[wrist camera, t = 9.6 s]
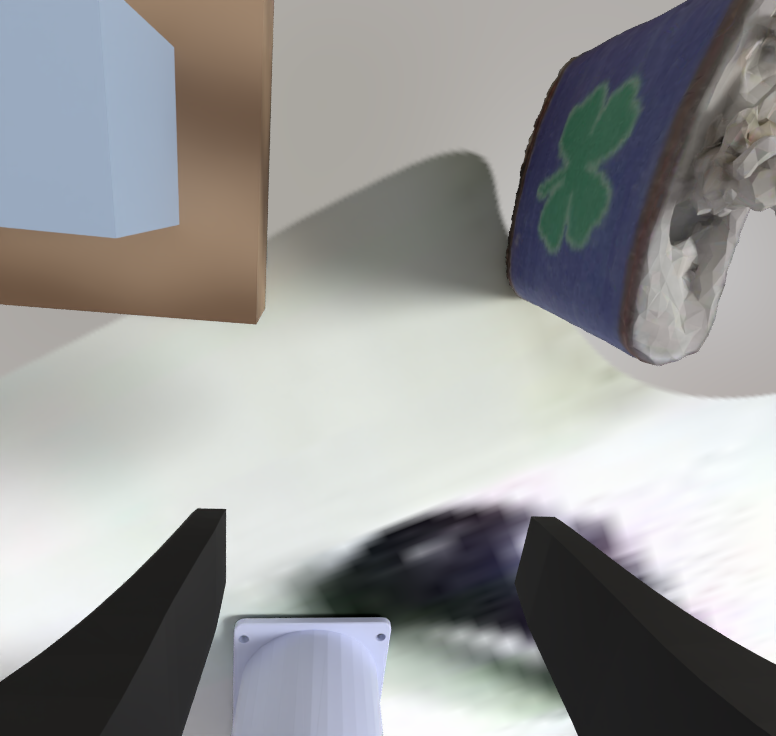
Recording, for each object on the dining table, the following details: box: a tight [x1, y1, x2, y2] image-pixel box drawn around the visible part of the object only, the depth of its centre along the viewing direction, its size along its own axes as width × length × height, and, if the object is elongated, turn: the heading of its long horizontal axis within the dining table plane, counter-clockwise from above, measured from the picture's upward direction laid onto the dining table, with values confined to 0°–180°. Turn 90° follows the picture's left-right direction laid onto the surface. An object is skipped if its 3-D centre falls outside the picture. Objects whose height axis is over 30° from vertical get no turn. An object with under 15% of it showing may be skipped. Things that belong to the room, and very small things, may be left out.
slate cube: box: [0, 0, 179, 238], centre depth 12 cm, size 5×5×5 cm
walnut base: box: [0, 0, 274, 324], centre depth 16 cm, size 12×10×2 cm
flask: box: [505, 0, 776, 366], centre depth 14 cm, size 9×3×11 cm, turn 169°
